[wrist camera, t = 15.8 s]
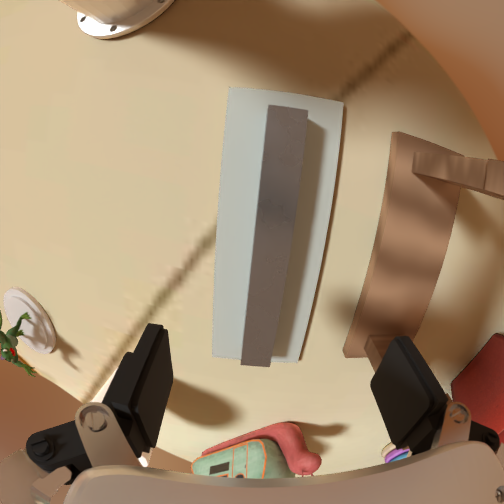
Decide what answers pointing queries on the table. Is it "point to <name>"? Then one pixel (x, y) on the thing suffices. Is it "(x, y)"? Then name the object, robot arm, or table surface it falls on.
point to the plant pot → (484, 386)
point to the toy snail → (260, 455)
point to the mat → (244, 213)
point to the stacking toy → (393, 453)
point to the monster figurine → (25, 326)
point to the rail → (273, 229)
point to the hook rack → (413, 239)
